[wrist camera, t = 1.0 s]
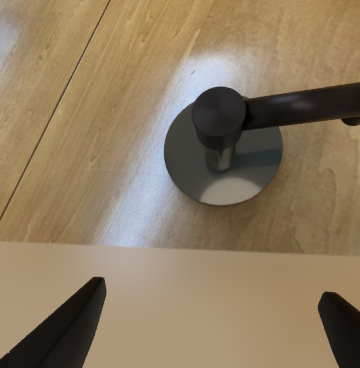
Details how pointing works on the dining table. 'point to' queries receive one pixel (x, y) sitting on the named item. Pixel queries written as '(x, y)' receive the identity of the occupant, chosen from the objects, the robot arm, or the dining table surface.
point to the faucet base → (221, 163)
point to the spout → (269, 111)
